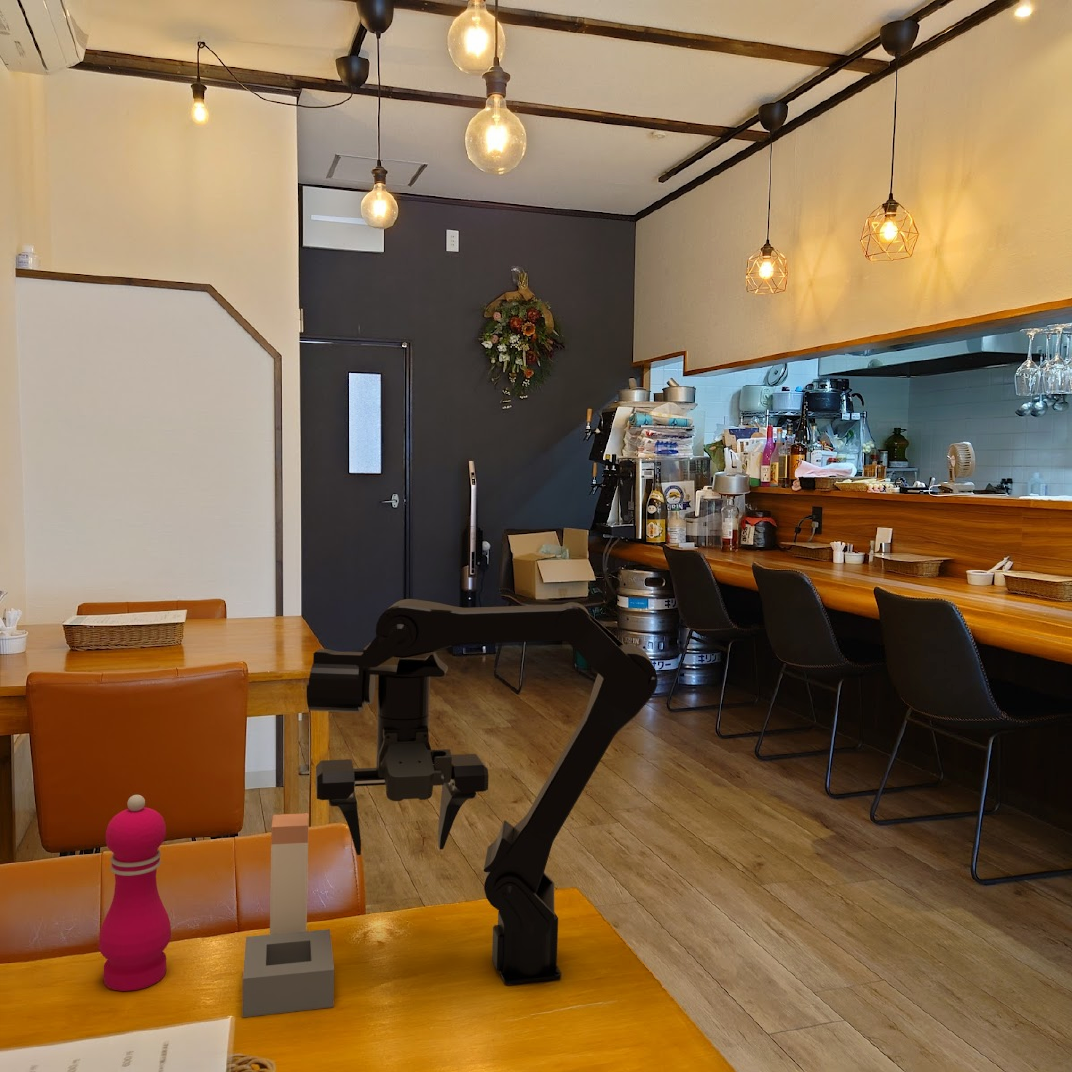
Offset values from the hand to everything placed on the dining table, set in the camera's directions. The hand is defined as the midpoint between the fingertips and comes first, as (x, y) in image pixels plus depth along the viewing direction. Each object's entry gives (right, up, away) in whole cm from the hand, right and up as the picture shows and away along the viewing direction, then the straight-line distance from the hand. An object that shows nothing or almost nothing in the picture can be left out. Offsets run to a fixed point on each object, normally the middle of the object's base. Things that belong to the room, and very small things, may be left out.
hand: (400, 851), depth 107 cm
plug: (-14, -12, +4) cm, 19 cm away
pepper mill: (-28, -13, -4) cm, 31 cm away
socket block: (-11, -13, -5) cm, 18 cm away
